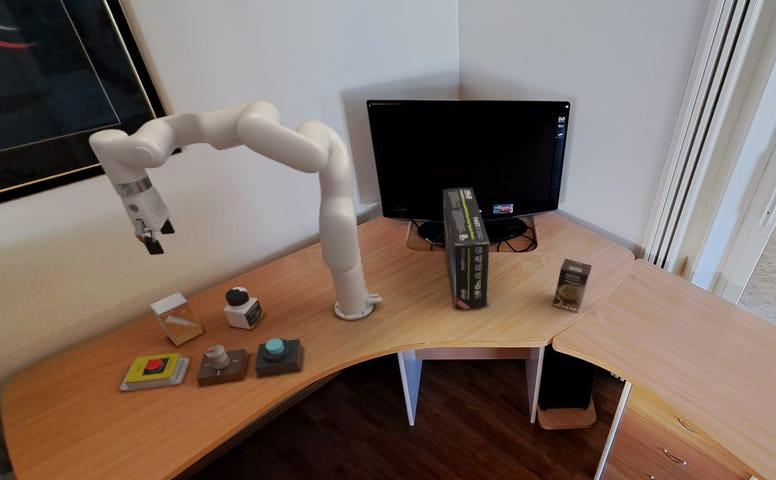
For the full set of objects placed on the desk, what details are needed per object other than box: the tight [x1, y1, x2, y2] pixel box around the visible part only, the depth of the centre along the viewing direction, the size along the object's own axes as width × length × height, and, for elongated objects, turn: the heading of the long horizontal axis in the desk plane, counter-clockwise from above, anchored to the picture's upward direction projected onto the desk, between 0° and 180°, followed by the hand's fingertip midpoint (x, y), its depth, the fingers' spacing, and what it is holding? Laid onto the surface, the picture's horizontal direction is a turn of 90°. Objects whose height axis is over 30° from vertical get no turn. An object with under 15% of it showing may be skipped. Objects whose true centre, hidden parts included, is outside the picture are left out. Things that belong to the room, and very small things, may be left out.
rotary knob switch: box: [195, 348, 249, 386], centre depth 124 cm, size 11×9×3 cm
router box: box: [442, 187, 491, 310], centre depth 152 cm, size 36×11×27 cm, turn 10°
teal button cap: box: [266, 338, 284, 355], centre depth 124 cm, size 4×4×2 cm
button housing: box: [254, 338, 303, 378], centre depth 126 cm, size 11×9×6 cm
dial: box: [205, 344, 230, 369], centre depth 122 cm, size 4×4×5 cm
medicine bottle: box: [223, 286, 265, 330], centre depth 137 cm, size 7×7×12 cm
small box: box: [149, 291, 204, 347], centre depth 131 cm, size 8×6×13 cm
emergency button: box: [119, 352, 191, 392], centre depth 122 cm, size 9×4×15 cm
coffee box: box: [552, 258, 593, 313], centre depth 146 cm, size 9×6×16 cm
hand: (163, 243), depth 118 cm, fingers open, 9 cm apart
